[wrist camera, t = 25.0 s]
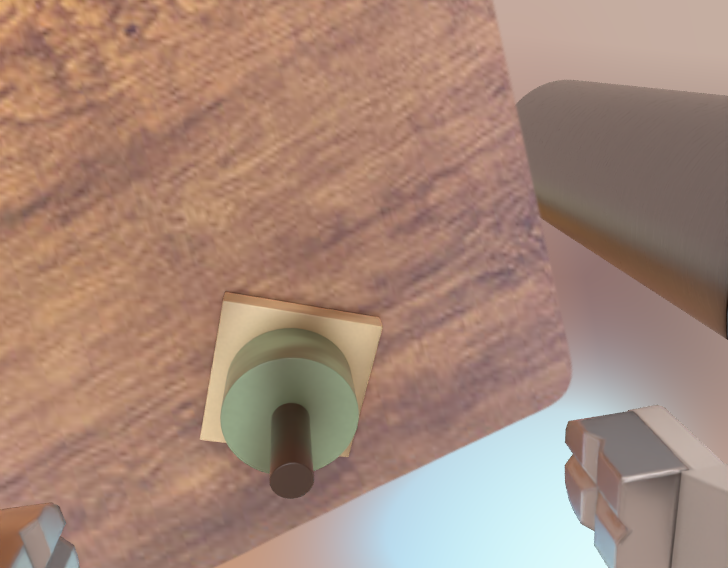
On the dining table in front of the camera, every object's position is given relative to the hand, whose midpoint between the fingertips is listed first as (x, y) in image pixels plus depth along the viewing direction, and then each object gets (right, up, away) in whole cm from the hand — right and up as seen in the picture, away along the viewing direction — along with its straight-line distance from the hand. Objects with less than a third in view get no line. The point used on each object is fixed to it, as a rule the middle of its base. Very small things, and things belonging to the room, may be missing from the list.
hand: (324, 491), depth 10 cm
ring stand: (-4, -3, +31) cm, 31 cm away
